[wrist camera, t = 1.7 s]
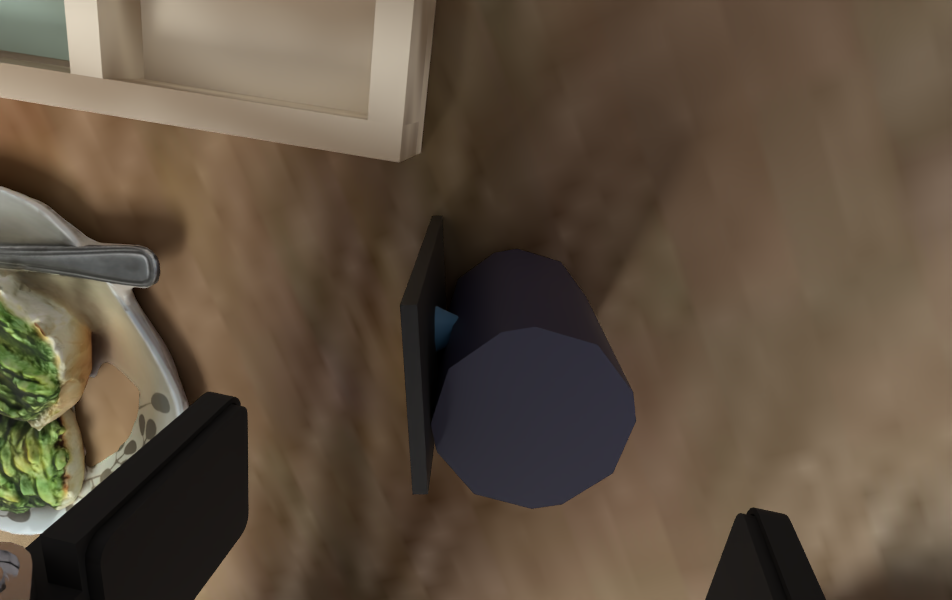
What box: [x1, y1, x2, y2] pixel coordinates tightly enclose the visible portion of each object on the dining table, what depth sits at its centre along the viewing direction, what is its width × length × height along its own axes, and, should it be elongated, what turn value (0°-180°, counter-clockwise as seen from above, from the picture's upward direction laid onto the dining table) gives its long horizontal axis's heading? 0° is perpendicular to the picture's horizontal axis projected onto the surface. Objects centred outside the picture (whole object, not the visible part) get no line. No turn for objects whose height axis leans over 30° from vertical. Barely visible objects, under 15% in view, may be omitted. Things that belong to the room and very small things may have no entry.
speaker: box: [400, 216, 636, 509], centre depth 20 cm, size 8×6×10 cm
